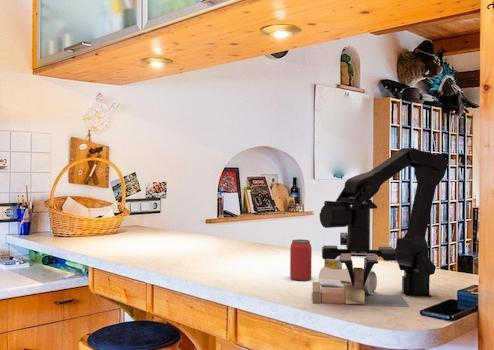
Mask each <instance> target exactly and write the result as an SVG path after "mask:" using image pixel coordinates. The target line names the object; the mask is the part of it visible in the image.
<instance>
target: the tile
mask: <svg viewBox="0 0 494 350" xmlns="http://www.w3.org/2000/svg"><path fill="white" fill-rule="evenodd" d="M320 288H321V300H322V302H327V303H345V290H344V288H328V287H321V286H320Z"/></svg>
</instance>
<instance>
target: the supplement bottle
mask: <svg viewBox="0 0 494 350" xmlns="http://www.w3.org/2000/svg"><path fill="white" fill-rule="evenodd" d="M323 260H324V262H323V263H324V264H323V265H324V266H323V267H328V268H331V269H343V263H341V262H340V256H338V257H337V258H336V259H323Z"/></svg>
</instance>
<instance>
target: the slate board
mask: <svg viewBox="0 0 494 350" xmlns="http://www.w3.org/2000/svg"><path fill="white" fill-rule="evenodd" d="M312 304H314V305H335V306H336V305H338V306H339V305H340V306H368V307H369V306H371V307H395V308H396V307H399V308H410V305H409V304H408V303H407V301H406V299H405V298H404V297H403V295H401V294H375V293H374V294H372V295H368V294H364V304H346V302H345V303H327V302H322V300H321V286H320V282H319V281H312Z"/></svg>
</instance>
